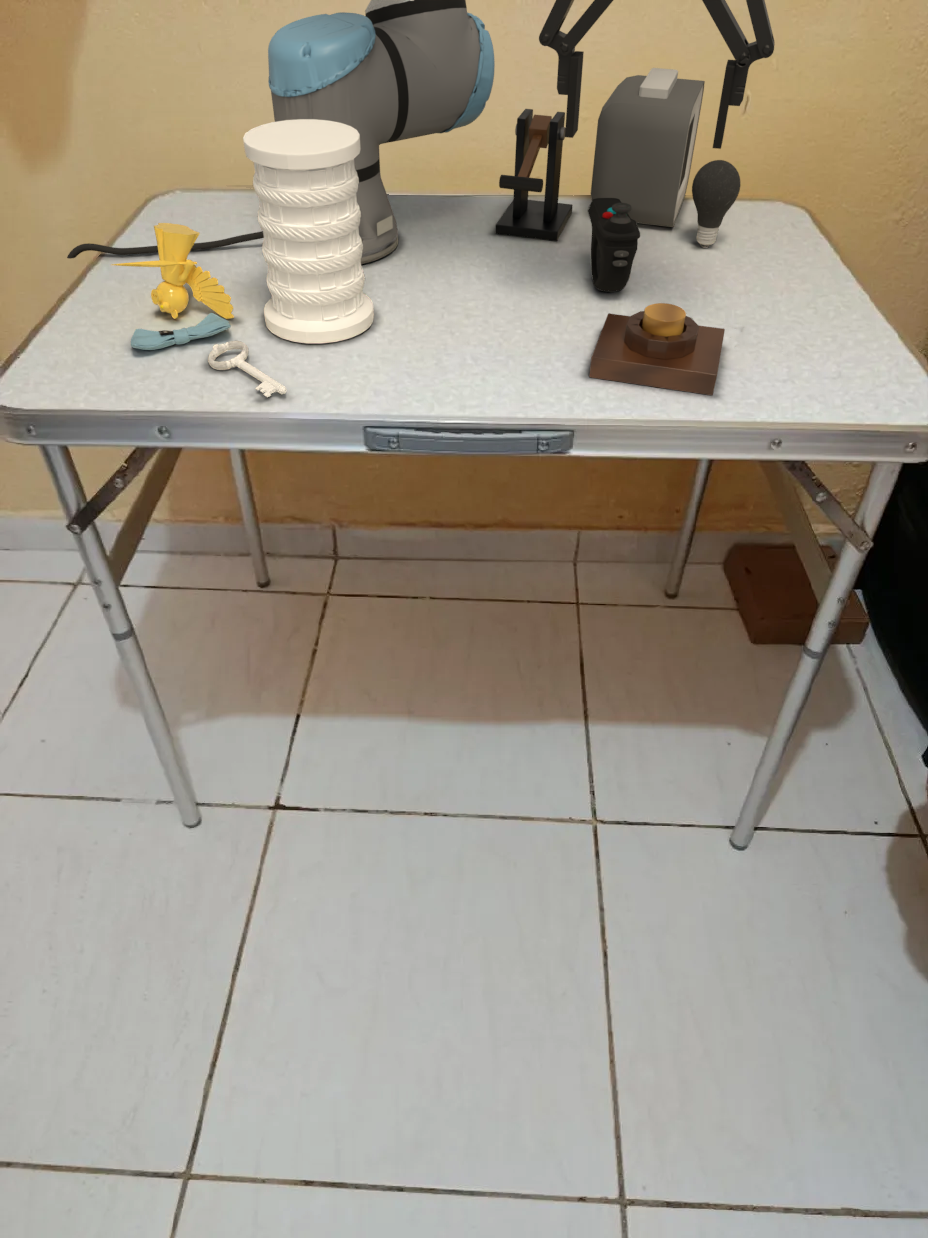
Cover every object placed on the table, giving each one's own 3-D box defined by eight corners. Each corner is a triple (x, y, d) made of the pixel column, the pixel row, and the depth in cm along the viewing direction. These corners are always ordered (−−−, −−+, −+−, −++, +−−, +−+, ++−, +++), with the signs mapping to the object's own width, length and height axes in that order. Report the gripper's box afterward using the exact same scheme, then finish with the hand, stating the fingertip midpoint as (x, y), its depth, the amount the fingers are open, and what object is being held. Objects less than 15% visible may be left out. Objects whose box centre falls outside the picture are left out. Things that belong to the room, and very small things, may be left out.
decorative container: (383, 298, 102) (374, 120, 90) (362, 347, 94) (349, 158, 81) (281, 292, 103) (258, 115, 91) (251, 339, 95) (222, 151, 82)
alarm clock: (670, 234, 117) (693, 98, 107) (583, 223, 120) (597, 89, 109) (686, 192, 129) (708, 65, 118) (606, 183, 131) (620, 58, 120)
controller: (595, 308, 101) (606, 215, 95) (579, 263, 110) (588, 175, 104) (634, 307, 102) (647, 214, 95) (614, 262, 111) (625, 175, 104)
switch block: (589, 377, 90) (593, 339, 87) (605, 332, 97) (610, 296, 94) (712, 395, 88) (721, 357, 85) (720, 348, 95) (728, 311, 92)
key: (196, 353, 91) (231, 333, 93) (199, 361, 92) (234, 341, 93) (265, 398, 85) (301, 375, 86) (268, 406, 85) (304, 384, 87)
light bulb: (725, 238, 116) (742, 154, 110) (729, 256, 112) (748, 169, 106) (680, 236, 117) (694, 152, 110) (683, 254, 113) (698, 167, 106)
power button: (639, 335, 89) (641, 317, 88) (644, 317, 92) (647, 300, 91) (680, 340, 88) (683, 323, 87) (684, 322, 91) (688, 305, 90)
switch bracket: (556, 241, 115) (565, 129, 106) (495, 233, 117) (499, 123, 108) (572, 213, 122) (581, 106, 113) (513, 206, 124) (518, 101, 115)
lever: (540, 198, 108) (540, 180, 106) (499, 194, 109) (498, 175, 107) (562, 135, 113) (563, 116, 111) (523, 131, 114) (522, 112, 112)
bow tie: (130, 345, 95) (136, 360, 91) (125, 330, 94) (131, 344, 90) (226, 324, 98) (236, 338, 94) (222, 309, 97) (232, 322, 93)
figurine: (130, 244, 86) (131, 338, 90) (238, 244, 94) (233, 329, 98) (66, 212, 92) (70, 301, 96) (172, 214, 100) (171, 296, 104)
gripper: (511, -160, 71) (503, 139, 85) (848, -156, 66) (780, 160, 80) (531, -164, 76) (521, 118, 91) (845, -161, 72) (782, 137, 86)
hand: (643, 139), depth 86 cm, fingers open, 13 cm apart
